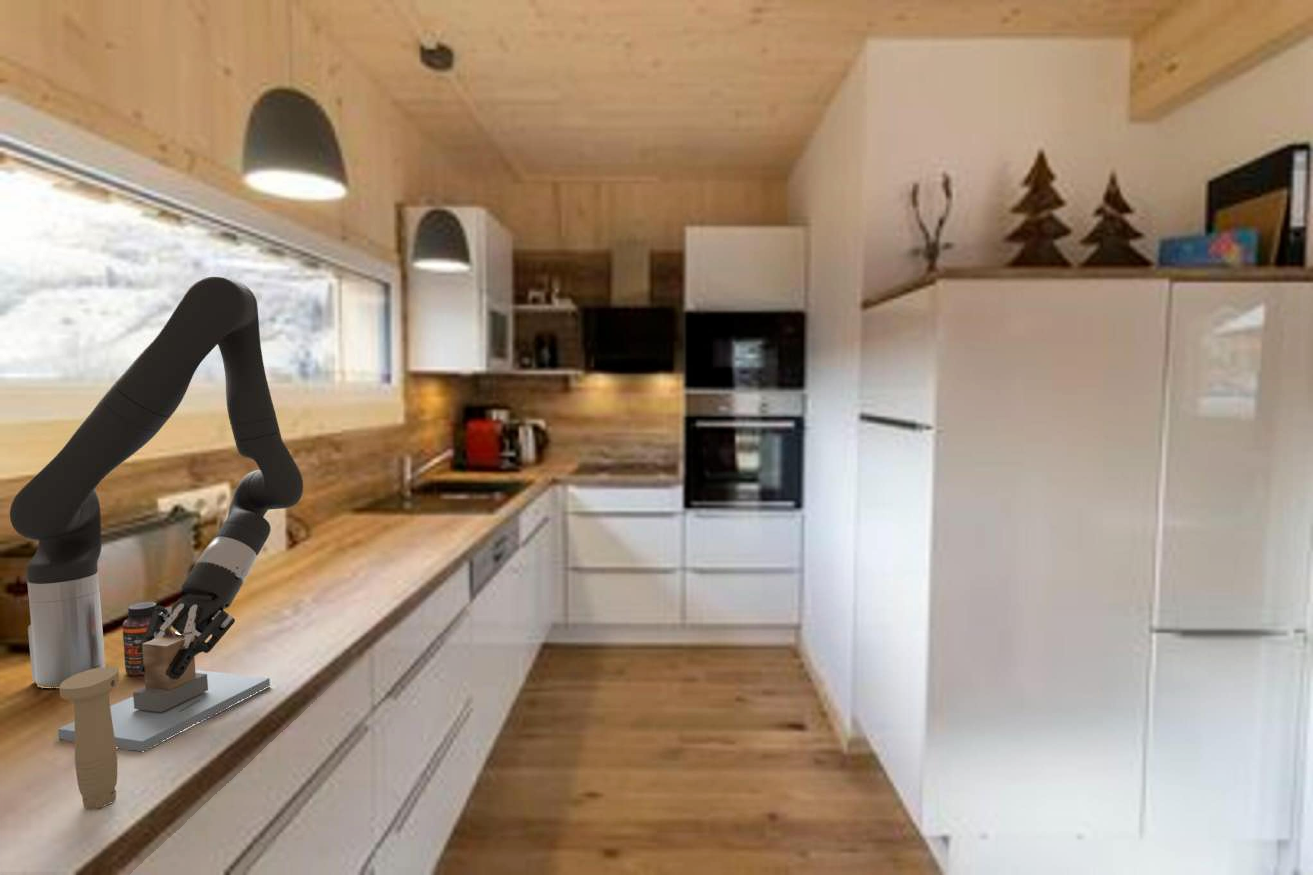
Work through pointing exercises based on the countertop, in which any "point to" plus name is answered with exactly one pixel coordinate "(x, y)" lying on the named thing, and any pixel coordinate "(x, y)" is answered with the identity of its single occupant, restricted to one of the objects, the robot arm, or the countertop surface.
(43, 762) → the countertop surface
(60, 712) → the countertop surface
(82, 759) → the handle
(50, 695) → the countertop surface
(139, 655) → the supplement bottle
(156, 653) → the block
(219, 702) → the board
